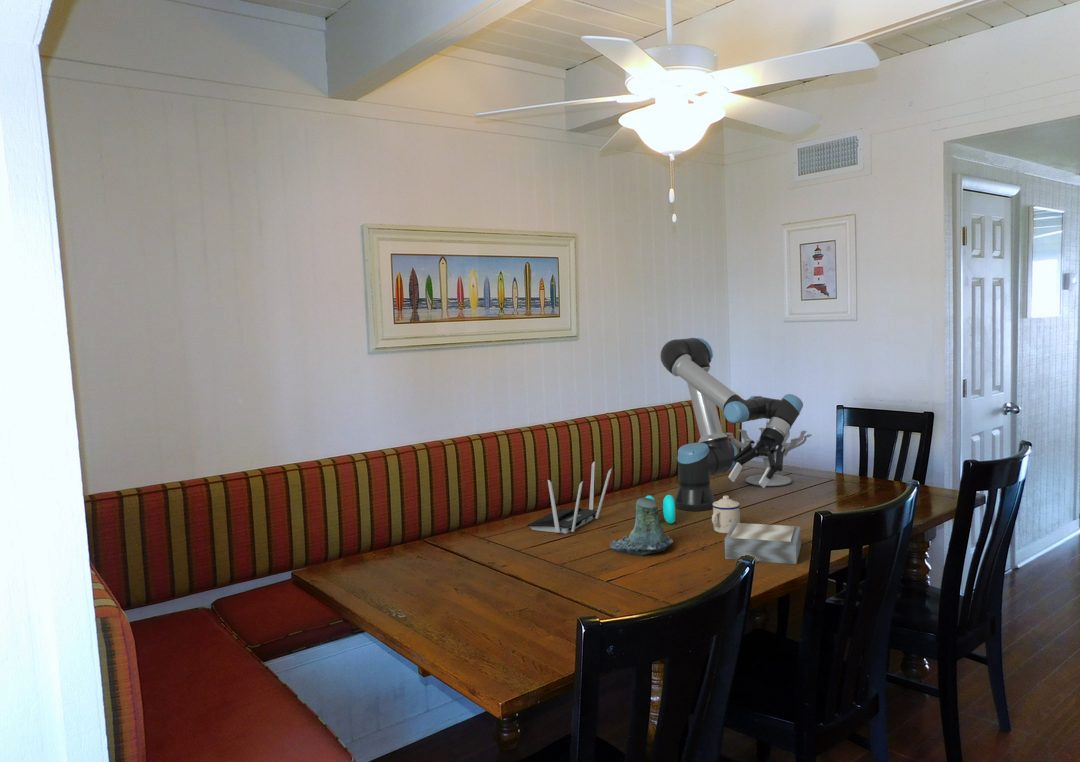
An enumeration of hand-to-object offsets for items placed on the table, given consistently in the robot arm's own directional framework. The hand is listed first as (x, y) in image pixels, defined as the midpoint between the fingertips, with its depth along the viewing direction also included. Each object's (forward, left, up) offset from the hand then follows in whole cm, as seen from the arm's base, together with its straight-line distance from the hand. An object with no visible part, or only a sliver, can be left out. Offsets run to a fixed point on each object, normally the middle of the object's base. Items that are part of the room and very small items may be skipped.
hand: (745, 482), depth 257 cm
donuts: (-29, -4, -15) cm, 33 cm away
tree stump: (-28, -33, -15) cm, 46 cm away
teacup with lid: (-6, -9, -15) cm, 18 cm away
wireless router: (-59, -13, -15) cm, 62 cm away
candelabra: (0, +68, -15) cm, 70 cm away
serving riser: (+9, -29, -15) cm, 33 cm away
